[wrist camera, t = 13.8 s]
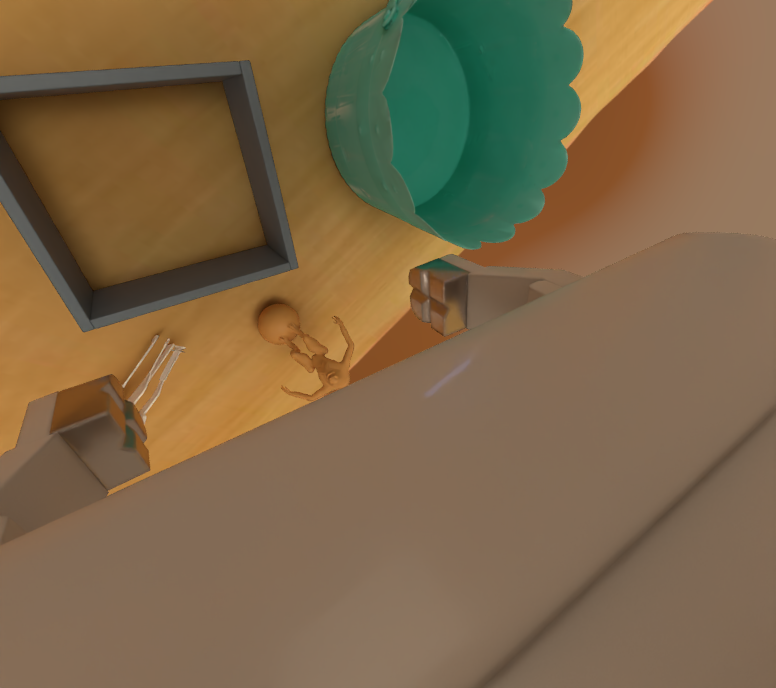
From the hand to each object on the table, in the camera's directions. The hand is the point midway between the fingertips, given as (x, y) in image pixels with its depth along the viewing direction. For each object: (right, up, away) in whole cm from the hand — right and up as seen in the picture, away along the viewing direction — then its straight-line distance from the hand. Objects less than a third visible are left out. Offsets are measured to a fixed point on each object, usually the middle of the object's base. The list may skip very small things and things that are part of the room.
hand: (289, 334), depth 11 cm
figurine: (-8, +2, +29) cm, 30 cm away
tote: (-15, +12, +19) cm, 26 cm away
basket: (+4, +22, +27) cm, 35 cm away
